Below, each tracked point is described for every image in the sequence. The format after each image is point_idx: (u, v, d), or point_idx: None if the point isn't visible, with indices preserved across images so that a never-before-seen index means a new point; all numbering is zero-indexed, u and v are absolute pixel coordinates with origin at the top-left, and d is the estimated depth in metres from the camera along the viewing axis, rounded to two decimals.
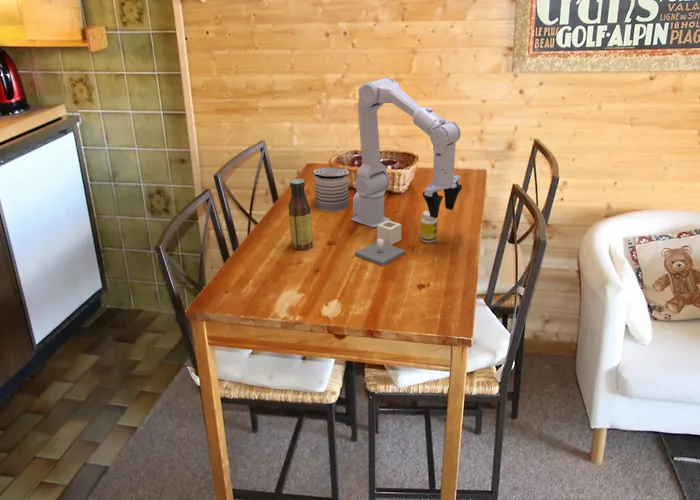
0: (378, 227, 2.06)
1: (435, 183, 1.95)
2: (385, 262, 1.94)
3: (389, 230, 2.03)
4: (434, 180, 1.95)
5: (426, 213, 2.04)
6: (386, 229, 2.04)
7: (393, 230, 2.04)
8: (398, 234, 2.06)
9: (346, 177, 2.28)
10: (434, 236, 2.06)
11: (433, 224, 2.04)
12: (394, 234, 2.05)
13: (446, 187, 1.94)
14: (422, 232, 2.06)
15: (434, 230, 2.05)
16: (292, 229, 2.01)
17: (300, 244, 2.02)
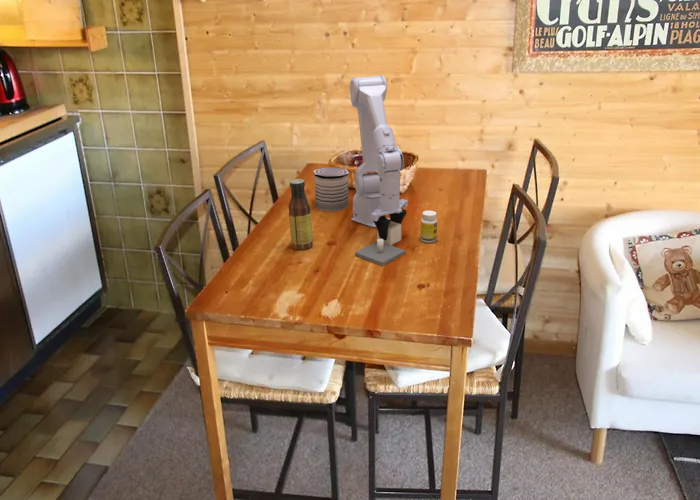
0: None
1: (381, 208, 2.02)
2: (385, 262, 1.94)
3: (389, 230, 2.03)
4: (380, 205, 2.02)
5: (426, 213, 2.04)
6: None
7: (393, 230, 2.04)
8: (398, 234, 2.06)
9: (346, 177, 2.28)
10: (434, 236, 2.06)
11: (433, 224, 2.04)
12: (394, 234, 2.05)
13: (392, 212, 2.01)
14: (422, 232, 2.06)
15: (434, 230, 2.05)
16: (292, 229, 2.01)
17: (300, 244, 2.02)
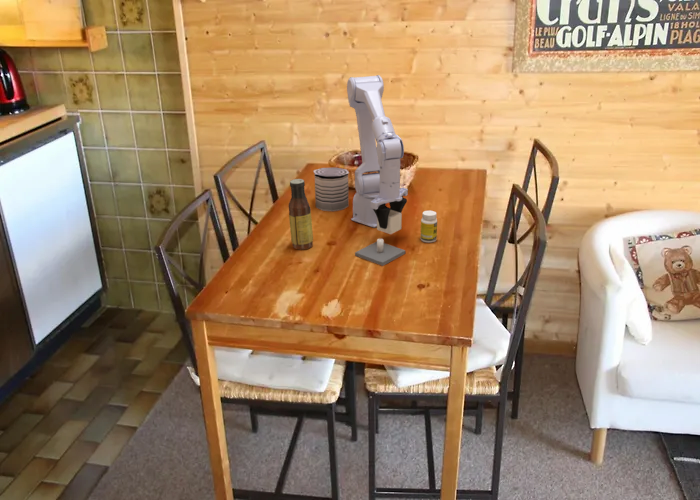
0: None
1: (381, 196, 2.00)
2: (385, 262, 1.94)
3: (389, 219, 2.02)
4: (380, 193, 2.00)
5: (426, 213, 2.04)
6: None
7: (393, 219, 2.02)
8: (398, 223, 2.05)
9: (346, 177, 2.28)
10: (434, 236, 2.06)
11: (433, 224, 2.04)
12: (394, 223, 2.03)
13: (392, 200, 1.99)
14: (422, 232, 2.06)
15: (434, 230, 2.05)
16: (292, 229, 2.01)
17: (300, 244, 2.02)
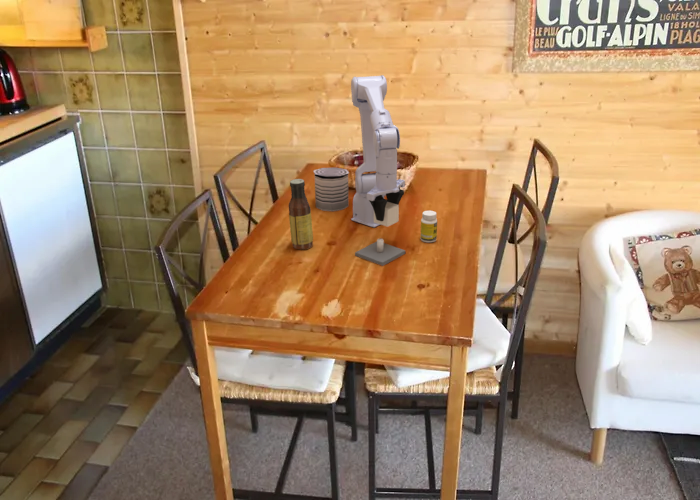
0: None
1: (378, 187, 1.95)
2: (385, 262, 1.94)
3: (386, 210, 1.96)
4: (377, 184, 1.95)
5: (426, 213, 2.04)
6: None
7: (390, 211, 1.97)
8: (395, 215, 2.00)
9: (346, 177, 2.28)
10: (434, 236, 2.06)
11: (433, 224, 2.04)
12: (391, 215, 1.98)
13: (388, 191, 1.94)
14: (422, 232, 2.06)
15: (434, 230, 2.05)
16: (292, 229, 2.01)
17: (300, 244, 2.02)
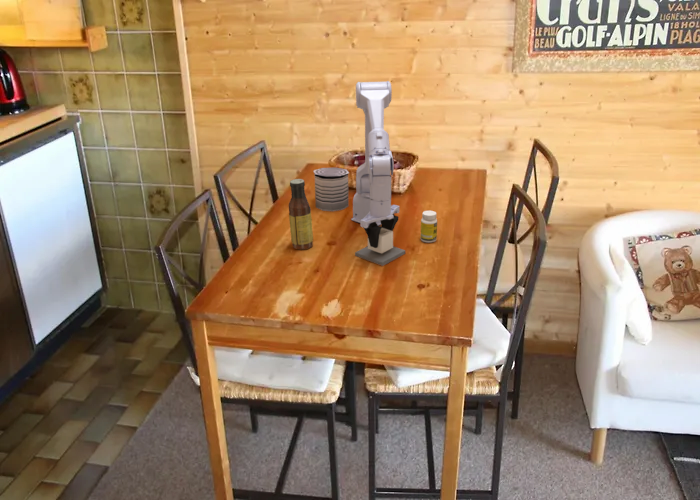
0: None
1: (372, 214, 1.92)
2: (385, 262, 1.94)
3: (380, 237, 1.94)
4: (371, 211, 1.93)
5: (426, 213, 2.04)
6: None
7: (384, 237, 1.94)
8: (390, 242, 1.97)
9: (346, 177, 2.28)
10: (434, 236, 2.06)
11: (433, 224, 2.04)
12: (385, 241, 1.95)
13: (382, 218, 1.91)
14: (422, 232, 2.06)
15: (434, 230, 2.05)
16: (292, 229, 2.01)
17: (300, 244, 2.02)
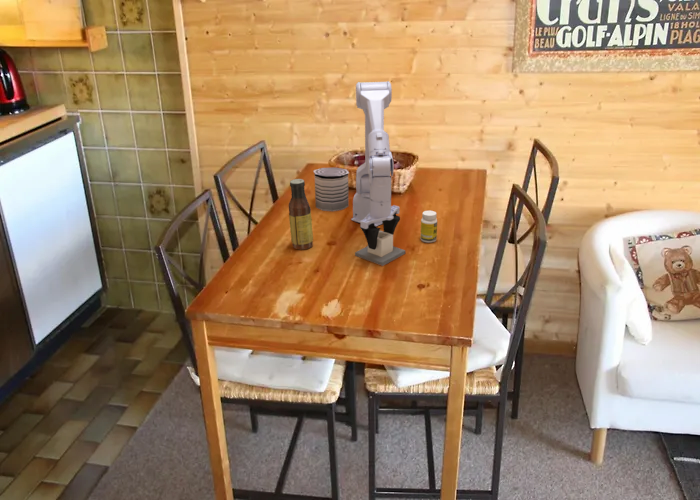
0: None
1: (372, 215, 1.93)
2: (385, 262, 1.94)
3: (380, 241, 1.94)
4: (371, 212, 1.93)
5: (426, 213, 2.04)
6: (377, 240, 1.95)
7: (384, 241, 1.95)
8: (389, 245, 1.97)
9: (346, 177, 2.28)
10: (434, 236, 2.06)
11: (433, 224, 2.04)
12: (385, 245, 1.96)
13: (382, 219, 1.91)
14: (422, 232, 2.06)
15: (434, 230, 2.05)
16: (292, 229, 2.01)
17: (300, 244, 2.02)
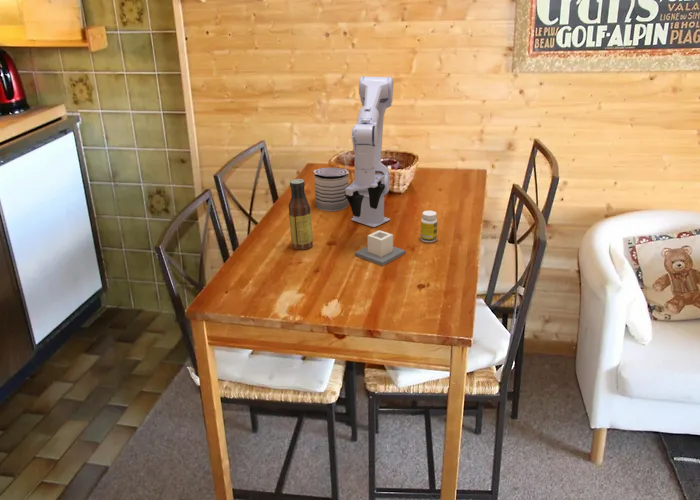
0: (369, 237, 1.97)
1: (356, 182, 1.98)
2: (385, 262, 1.94)
3: (380, 241, 1.94)
4: (355, 179, 1.98)
5: (426, 213, 2.04)
6: (377, 240, 1.95)
7: (384, 241, 1.95)
8: (389, 245, 1.97)
9: (346, 177, 2.28)
10: (434, 236, 2.06)
11: (433, 224, 2.04)
12: (385, 245, 1.96)
13: (367, 186, 1.97)
14: (422, 232, 2.06)
15: (434, 230, 2.05)
16: (292, 229, 2.01)
17: (300, 244, 2.02)
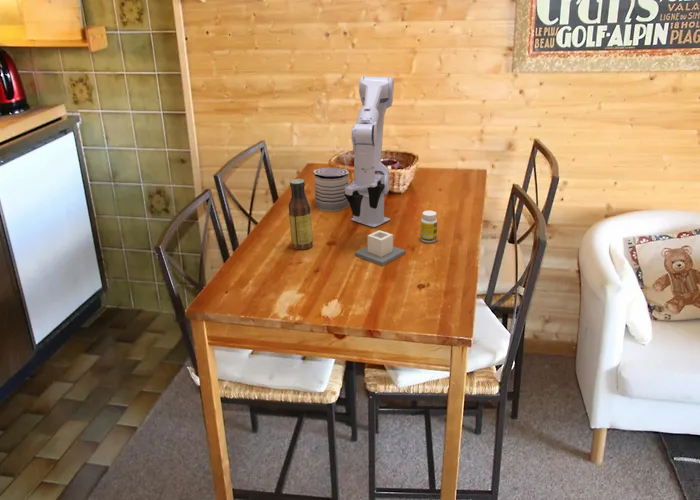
0: (369, 237, 1.97)
1: (356, 182, 1.98)
2: (385, 262, 1.94)
3: (380, 241, 1.94)
4: (355, 179, 1.98)
5: (426, 213, 2.04)
6: (377, 240, 1.95)
7: (384, 241, 1.95)
8: (389, 245, 1.97)
9: (346, 177, 2.28)
10: (434, 236, 2.06)
11: (433, 224, 2.04)
12: (385, 245, 1.96)
13: (366, 186, 1.97)
14: (422, 232, 2.06)
15: (434, 230, 2.05)
16: (292, 229, 2.01)
17: (300, 244, 2.02)
